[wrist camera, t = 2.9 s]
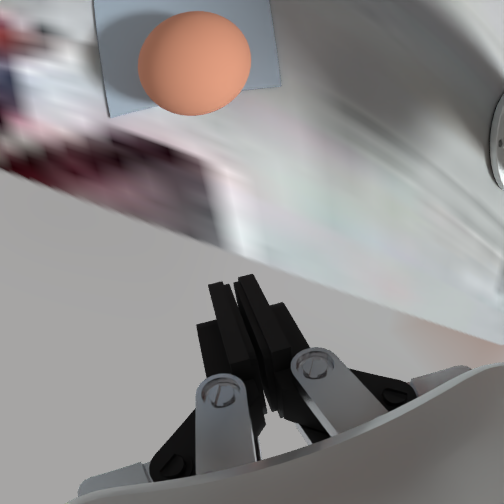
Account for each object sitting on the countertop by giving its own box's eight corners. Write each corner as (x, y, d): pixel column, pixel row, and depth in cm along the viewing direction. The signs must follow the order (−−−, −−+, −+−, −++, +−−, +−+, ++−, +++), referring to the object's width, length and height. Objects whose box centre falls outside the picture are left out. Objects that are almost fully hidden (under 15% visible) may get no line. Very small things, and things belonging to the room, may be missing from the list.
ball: (232, 19, 16) (255, -9, 11) (245, 105, 19) (272, 107, 14) (137, 35, 15) (123, 10, 10) (151, 122, 18) (142, 131, 13)
